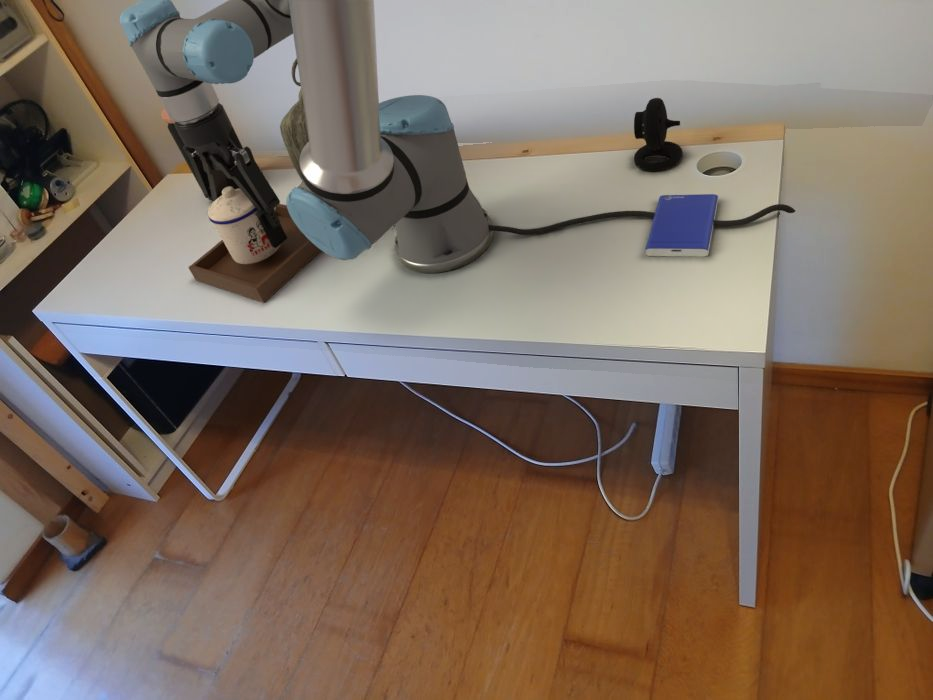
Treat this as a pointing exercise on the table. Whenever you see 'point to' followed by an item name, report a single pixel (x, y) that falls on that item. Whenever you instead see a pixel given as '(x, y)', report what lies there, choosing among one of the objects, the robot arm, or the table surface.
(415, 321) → the table surface
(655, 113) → the webcam
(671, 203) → the hard drive
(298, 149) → the green bell
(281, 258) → the tray
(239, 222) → the teacup with lid
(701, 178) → the table surface
